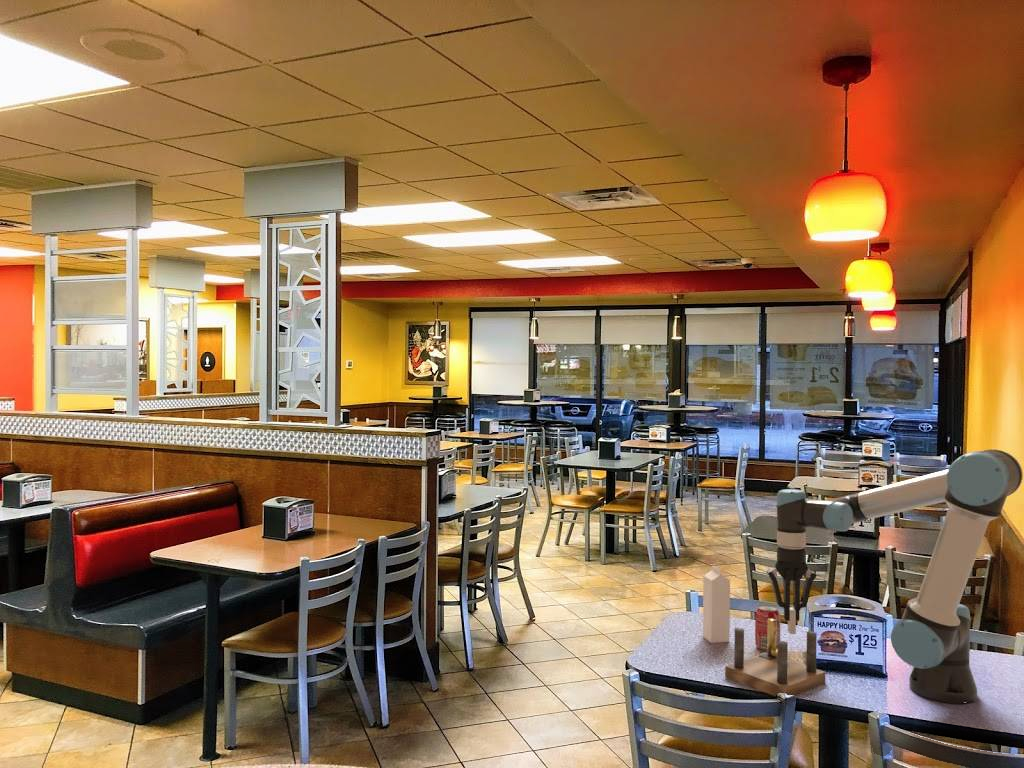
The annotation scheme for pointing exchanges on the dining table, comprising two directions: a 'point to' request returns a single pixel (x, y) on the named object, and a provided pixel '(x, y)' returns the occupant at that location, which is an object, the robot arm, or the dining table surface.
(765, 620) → the soda can
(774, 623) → the hinged leg
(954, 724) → the dining table surface
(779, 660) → the stool seat
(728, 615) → the milk
